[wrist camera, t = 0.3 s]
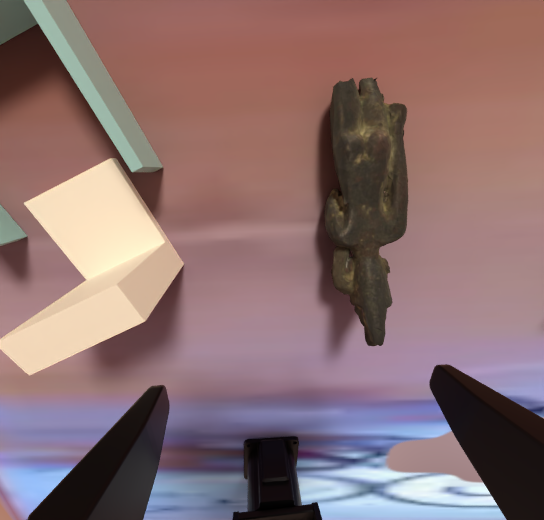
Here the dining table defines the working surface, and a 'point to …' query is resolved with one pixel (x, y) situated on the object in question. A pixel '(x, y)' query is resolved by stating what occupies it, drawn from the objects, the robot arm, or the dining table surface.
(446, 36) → the dining table surface
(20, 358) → the bookend
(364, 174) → the statue
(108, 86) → the box
